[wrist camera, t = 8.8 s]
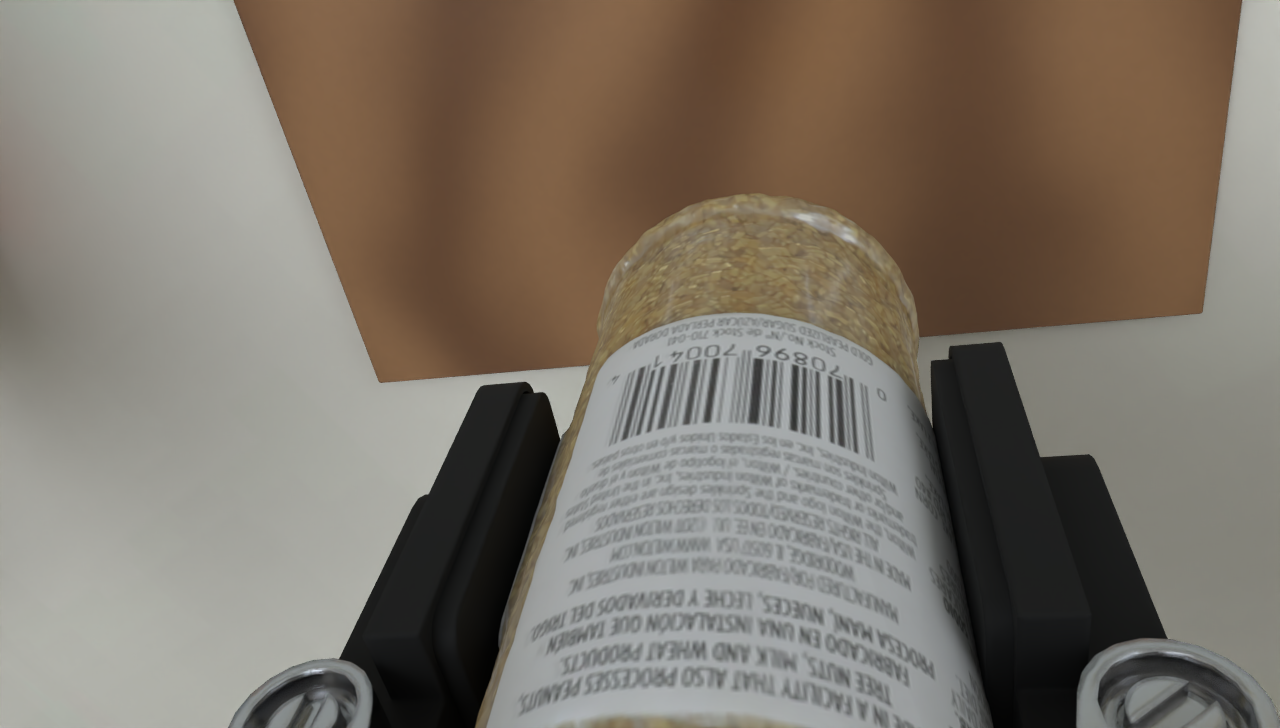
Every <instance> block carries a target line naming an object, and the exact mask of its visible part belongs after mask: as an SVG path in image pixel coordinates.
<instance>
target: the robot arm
mask: <svg viewBox="0 0 1280 728" xmlns="http://www.w3.org/2000/svg"><path fill="white" fill-rule="evenodd" d="M931 394H932V422H933V431H934V434H935V437H936V442H937V448H938V453H939V458H940V463H941V468H942V473H943V479H944V484H945V489H946V494H947V499H948V504H949V510H950V515H951V520H952V525H953V530H954V535H955V541H956V546H957V551H958V557H959V562H960V568H961V573H962V578H963V583H964V588H965V593H966V598H967V603H968V608H969V613H970V618H971V623H972V629H973V634H974V639H975V645H976V650H977V655H978V660H979V665H980V670H981V675H982V680H983V685H984V690H985V695H986V699H987V701H988V704H989V708H990V712H991V717H992V722H993V727H994V728H1280V720H1279V717H1278V715H1277V712H1276V710H1275V707H1274V704H1273V702H1272V699H1271V698H1270V697H1269V696H1268V694H1267V693H1266V692H1265V691H1264V690H1263V688H1262V687H1261V686H1260V685H1259V684H1258V682H1257V681H1256V680H1255V679H1254V677H1252V676H1251V675H1250V674H1248V673H1247V672H1246V671H1244V670H1243V669H1241V668H1240V667H1239V666H1237V665H1236V664H1235V663H1233V662H1232V661H1231V660H1229V659H1228V658H1225V657H1223V656H1221V655H1219V654H1217V653H1214V652H1212V651H1210V650H1208V649H1205V648H1203V647H1201V646H1198V645H1194V644H1189V643H1185V642H1181V641H1177V640H1172V639H1167V636H1166V634H1165V631H1164V629H1163V626H1162V624H1161V621H1160V619H1159V616H1158V614H1157V612H1156V609H1155V607H1154V604H1153V602H1152V599H1151V597H1150V594H1149V592H1148V589H1147V587H1146V584H1145V582H1144V579H1143V577H1142V574H1141V572H1140V569H1139V567H1138V564H1137V562H1136V559H1135V557H1134V554H1133V552H1132V549H1131V547H1130V544H1129V542H1128V539H1127V537H1126V534H1125V532H1124V529H1123V527H1122V524H1121V522H1120V519H1119V517H1118V514H1117V512H1116V509H1115V507H1114V504H1113V502H1112V499H1111V497H1110V494H1109V492H1108V489H1107V487H1106V484H1105V482H1104V479H1103V477H1102V474H1101V472H1100V469H1099V467H1098V465H1097V463H1096V461H1095V459H1094V458H1093V457H1092V456H1091V455H1089V454H1087V455H1070V456H1053V457H1040V456H1039V452H1038V449H1037V446H1036V443H1035V440H1034V437H1033V434H1032V431H1031V428H1030V425H1029V422H1028V419H1027V416H1026V413H1025V410H1024V407H1023V404H1022V401H1021V398H1020V394H1019V391H1018V388H1017V385H1016V382H1015V379H1014V376H1013V373H1012V370H1011V367H1010V364H1009V361H1008V358H1007V355H1006V352H1005V349H1004V346H1003V344H1002V343H1001V342H995V343H983V344H971V345H959V346H950V348H949V359H946V360H933V361H931ZM559 442H560V437H559V434H558V430H557V426H556V423H555V419H554V416H553V412H552V408H551V405H550V402H549V399H548V397H547V395H546V394H545V393H543V392H540V393H534V392H533V389H532V387H531V386H530V384H528V383H527V382H518V383H506V384H494V385H484V386H481V387H480V388H479V390H478V391H477V393H476V395H475V397H474V399H473V401H472V403H471V406H470V408H469V410H468V412H467V414H466V416H465V418H464V420H463V423H462V425H461V427H460V429H459V431H458V433H457V435H456V437H455V440H454V442H453V444H452V446H451V448H450V450H449V452H448V454H447V457H446V459H445V461H444V463H443V465H442V467H441V469H440V471H439V474H438V476H437V478H436V480H435V482H434V484H433V486H432V488H431V491H430V493H429V494H428V495H424V496H422V497H420V498H419V499H418V500H417V501H416V503H415V504H414V506H413V507H412V509H411V511H410V514H409V516H408V518H407V520H406V522H405V524H404V526H403V528H402V530H401V532H400V534H399V536H398V538H397V540H396V542H395V545H394V547H393V549H392V551H391V553H390V555H389V557H388V559H387V561H386V563H385V565H384V567H383V569H382V571H381V574H380V576H379V578H378V580H377V582H376V584H375V586H374V588H373V590H372V592H371V594H370V596H369V598H368V600H367V602H366V605H365V607H364V609H363V611H362V613H361V615H360V617H359V619H358V621H357V623H356V625H355V627H354V629H353V631H352V634H351V636H350V638H349V640H348V642H347V644H346V646H345V648H344V650H343V652H342V654H341V656H340V658H339V659H335V658H332V659H320V660H312V661H309V662H305V663H302V664H299V665H296V666H293V667H290V668H288V669H287V670H285V671H283V672H281V673H279V674H277V675H276V676H274V677H272V678H270V679H269V680H268V681H266V682H265V683H264V684H263V685H261V686H260V687H259V688H258V689H256V690H255V691H254V692H253V693H252V694H250V696H249V697H248V698H247V699H246V700H245V702H244V703H243V704H242V705H241V706H240V708H239V709H238V710H237V711H236V712H235V714H234V716H233V719H232V721H231V723H230V725H229V727H228V728H475V726H476V721H477V717H478V713H479V710H480V708H481V705H482V702H483V699H484V696H485V693H486V690H487V687H488V684H489V682H490V679H491V676H492V672H493V669H494V665H495V662H496V659H497V656H498V653H499V646H498V639H499V630H500V625H501V620H502V617H503V613H504V610H505V607H506V604H507V601H508V598H509V594H510V591H511V588H512V585H513V582H514V579H515V576H516V573H517V569H518V566H519V563H520V560H521V557H522V554H523V551H524V548H525V545H526V542H527V539H528V535H529V532H530V529H531V525H532V522H533V519H534V516H535V513H536V510H537V507H538V504H539V501H540V498H541V495H542V492H543V489H544V486H545V483H546V480H547V477H548V474H549V471H550V468H551V465H552V462H553V459H554V456H555V453H556V450H557V447H558V445H559Z"/></svg>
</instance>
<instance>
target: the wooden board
mask: <svg viewBox="0 0 1280 728" xmlns="http://www.w3.org/2000/svg"><path fill="white" fill-rule="evenodd" d="M234 3H235V5H236V8H237V11H238V13H239V16H240V19H241V21H242V24H243V26H244V29H245V32H246V34H247V37H248V40H249V42H250V45H251V47H252V50H253V53H254V55H255V58H256V61H257V63H258V66H259V68H260V71H261V74H262V76H263V79H264V82H265V84H266V87H267V89H268V92H269V95H270V97H271V100H272V103H273V105H274V108H275V110H276V113H277V116H278V118H279V121H280V124H281V126H282V129H283V131H284V134H285V137H286V139H287V142H288V145H289V147H290V150H291V152H292V155H293V158H294V160H295V163H296V166H297V168H298V171H299V173H300V176H301V179H302V181H303V184H304V187H305V189H306V192H307V194H308V197H309V200H310V202H311V205H312V208H313V210H314V213H315V215H316V218H317V221H318V223H319V226H320V229H321V231H322V234H323V236H324V239H325V242H326V244H327V247H328V250H329V252H330V255H331V257H332V260H333V263H334V265H335V268H336V271H337V273H338V276H339V278H340V281H341V284H342V286H343V289H344V292H345V294H346V297H347V299H348V302H349V305H350V307H351V310H352V313H353V315H354V318H355V320H356V323H357V326H358V328H359V331H360V334H361V336H362V339H363V341H364V344H365V347H366V349H367V352H368V355H369V357H370V360H371V362H372V365H373V368H374V370H375V373H376V376H377V378H378V381H379V382H380V383H384V382H396V381H408V380H420V379H432V378H444V377H455V376H467V375H479V374H491V373H503V372H514V371H526V370H538V369H550V368H562V367H574V366H585V365H590V362H591V360H592V357H593V354H594V351H595V349H596V346H597V343H598V340H599V337H598V333H597V325H596V324H597V319H598V315H599V312H600V309H601V305H602V302H603V297H604V292H605V288H606V285H607V282H608V280H609V278H610V276H611V274H612V271H613V270H614V268H615V267H616V265H617V264H618V262H619V261H620V260H621V259H622V258H623V256H624V255H625V254H626V253H627V252H628V251H629V249H630V248H632V247H633V246H634V245H635V244H636V243H637V241H638V240H639V239H640V237H641V236H642V235H643V234H644V233H645V232H646V231H647V230H649V229H651V228H653V227H655V226H656V225H657V224H659V223H660V222H661V221H663V220H664V219H665V218H667V217H669V216H671V215H673V214H675V213H677V212H679V211H681V210H682V209H684V208H686V207H687V206H689V205H692V204H696V203H699V202H702V201H705V200H709V199H716V198H722V197H728V196H733V195H739V194H754V193H761V194H765V195H768V196H788V197H793V198H798V199H803V200H805V201H808V202H811V203H814V204H818V205H821V206H824V207H828V208H831V209H834V210H835V211H837V212H839V213H840V214H842V215H843V216H845V217H847V218H848V219H850V220H852V221H853V222H855V223H856V224H857V225H858V226H859V227H861V228H862V229H863V230H864V231H865V232H867V233H868V234H870V235H872V236H873V237H874V238H875V239H876V240H877V241H878V242H879V243H880V244H881V245H882V247H883V248H884V249H885V250H886V252H887V253H888V254H889V255H890V256H891V257H892V258H893V260H894V261H895V263H896V264H897V266H898V267H899V269H900V271H901V273H902V275H903V277H904V280H905V282H906V284H907V286H908V288H909V289H910V291H911V293H912V295H913V297H914V302H915V307H916V312H917V323H918V328H919V337H928V336H940V335H952V334H964V333H976V332H987V331H999V330H1011V329H1023V328H1035V327H1046V326H1058V325H1070V324H1082V323H1094V322H1106V321H1117V320H1129V319H1141V318H1153V317H1165V316H1177V315H1188V314H1200V313H1202V312H1203V305H1204V297H1205V289H1206V281H1207V273H1208V265H1209V257H1210V249H1211V242H1212V234H1213V226H1214V218H1215V210H1216V202H1217V194H1218V186H1219V179H1220V171H1221V163H1222V155H1223V147H1224V139H1225V131H1226V123H1227V116H1228V108H1229V100H1230V92H1231V84H1232V76H1233V68H1234V60H1235V53H1236V45H1237V37H1238V29H1239V21H1240V13H1241V5H1242V0H234Z"/></svg>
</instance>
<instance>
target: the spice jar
mask: <svg viewBox="0 0 1280 728" xmlns="http://www.w3.org/2000/svg"><path fill="white" fill-rule="evenodd" d="M596 325H597V333H598V337H599V340H598V343H597V346H596V349H595V351H594V354H593V357H592V360H591V362H590V366H589V369H588V372H587V376H586V381H585V384H584V386H583V389H582V392H581V395H580V398H579V401H578V404H577V407H576V410H575V413H574V417H573V420H572V423H571V425H570V427H569V429H568V430H567V431H566V432H565V433H564V434H563V435H562V438H561V440H560V442H559V445H558V447H557V450H556V453H555V456H554V459H553V462H552V465H551V468H550V471H549V474H548V477H547V480H546V483H545V486H544V489H543V492H542V495H541V498H540V501H539V504H538V507H537V510H536V513H535V516H534V519H533V522H532V525H531V529H530V532H529V535H528V539H527V542H526V545H525V548H524V551H523V554H522V557H521V560H520V563H519V566H518V569H517V573H516V576H515V579H514V582H513V585H512V588H511V591H510V594H509V598H508V601H507V604H506V607H505V610H504V613H503V617H502V620H501V625H500V630H499V639H498V646H499V653H498V656H497V659H496V662H495V665H494V669H493V672H492V676H491V679H490V682H489V684H488V687H487V690H486V693H485V696H484V699H483V702H482V705H481V708H480V710H479V713H478V717H477V721H476V726H475V728H994V727H993V722H992V717H991V712H990V708H989V704H988V701H987V699H986V695H985V690H984V685H983V680H982V675H981V670H980V665H979V660H978V655H977V650H976V645H975V639H974V634H973V629H972V623H971V618H970V613H969V608H968V603H967V598H966V593H965V588H964V583H963V578H962V573H961V568H960V562H959V557H958V551H957V546H956V541H955V535H954V530H953V525H952V520H951V515H950V510H949V504H948V499H947V494H946V489H945V484H944V479H943V473H942V468H941V463H940V458H939V453H938V448H937V442H936V437H935V434H934V431H933V428H932V426H931V423H930V421H929V418H928V416H927V412H926V408H925V404H924V399H923V394H922V392H921V388H920V382H919V370H918V365H917V354H918V346H919V328H918V323H917V312H916V307H915V302H914V297H913V295H912V293H911V291H910V289H909V288H908V286H907V284H906V282H905V280H904V277H903V275H902V273H901V271H900V269H899V267H898V266H897V264H896V263H895V261H894V260H893V258H892V257H891V256H890V255H889V254H888V253H887V252H886V250H885V249H884V248H883V247H882V245H881V244H880V243H879V242H878V241H877V240H876V239H875V238H874V237H873V236H872V235H870V234H868V233H867V232H865V231H864V230H863V229H862V228H861V227H859V226H858V225H857V224H856V223H855V222H853V221H852V220H850V219H848V218H847V217H845V216H843V215H842V214H840V213H839V212H837V211H835V210H834V209H831V208H828V207H824V206H821V205H818V204H814V203H811V202H808V201H805V200H803V199H798V198H793V197H788V196H768V195H765V194H761V193H754V194H739V195H733V196H728V197H722V198H716V199H709V200H705V201H702V202H699V203H696V204H692V205H689V206H687V207H686V208H684V209H682V210H681V211H679V212H677V213H675V214H673V215H671V216H669V217H667V218H665V219H664V220H663V221H661V222H660V223H659V224H657V225H656V226H655V227H653V228H651V229H649V230H647V231H646V232H645V233H644V234H643V235H642V236H641V237H640V239H639V240H638V241H637V243H636V244H635V245H634V246H633V247H632V248H630V249H629V251H628V252H627V253H626V254H625V255H624V256H623V258H622V259H621V260H620V261H619V262H618V264H617V265H616V267H615V268H614V270H613V271H612V274H611V276H610V278H609V280H608V282H607V285H606V288H605V292H604V297H603V302H602V305H601V309H600V312H599V315H598V319H597V324H596Z"/></svg>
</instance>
